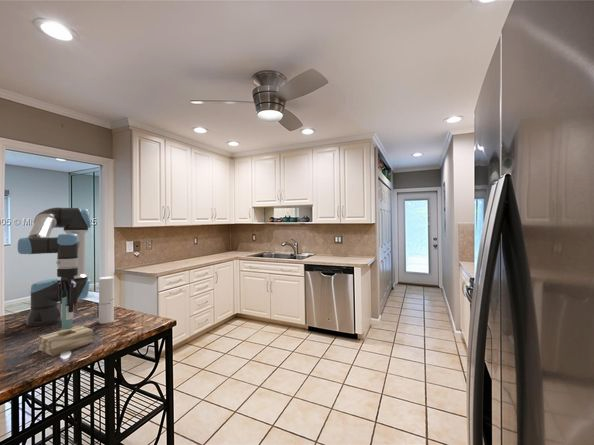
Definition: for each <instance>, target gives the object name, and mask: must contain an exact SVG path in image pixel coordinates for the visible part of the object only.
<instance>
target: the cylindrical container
mask: <svg viewBox="0 0 594 445" xmlns="http://www.w3.org/2000/svg"><path fill="white" fill-rule="evenodd" d="M114 308H115V276H102V277H99V278H98V323H99V324H109V323H112V322H114V321H115V320H114V319H115V316H114V314H115V313H114V312H115V311H114V310H115V309H114Z"/></svg>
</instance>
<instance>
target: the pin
mask: <svg viewBox="0 0 594 445" xmlns="http://www.w3.org/2000/svg"><path fill="white" fill-rule="evenodd" d="M65 305H67V297H63V298H62V319H61V330H65V329H70V328H72V327H74V326H73V325H74V324H73V320H74V318H73V319H69V320H66V306H65Z"/></svg>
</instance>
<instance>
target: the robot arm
mask: <svg viewBox="0 0 594 445" xmlns="http://www.w3.org/2000/svg"><path fill="white" fill-rule="evenodd" d="M91 227H92V224H91V218H90V212H89V210H88V208H83V207H51V208H47V209H45V210H42V211H41V212H39V213H38V214H37V215H35V217H34V219H33V227H32V228H31V230H30V232H29V235H27V237H20V238H19V239H18V240H17V252H18V254H20V255H37V254H38V255H39V254H40V255H42V254H43V255H44V254H57V258H56V261H55V263H56V266H57V269H56V276H57V278H49V279H48V278H47V279H43V280H39V281H36V282H34V283H32V285H31V287H30V292H29V293H30V311H29V313H28V315H27V318H26V320H25V321H26V326H28V327H41V326H48V325H52V324H56V323H59V322H60V321H62V298H63V297H67V305H65V306H66V320H69V319H73V320H74V317H75V316H74V313H75V312H74V311H75V310H74V307H75V306H74V305H75V304H77V303H78V301H79V300H84V299H86V298H88V297H89V290H90V284H91V278H88V274H86V273H85V270H86V269H85V267H86V265H85V264H86V263H85V261H86V260H85V258H86V256H85V250H86V248H85V247H86V241H85V240H86V233H88V231H89V229H90V228H91ZM54 228H56V229H58V228H61V229H62V228H63V232H64V233H60V234H58V235H57V237H56V236H54V237H50V235H51V233H52V230H53V229H54ZM58 278H60V279H58ZM59 303H60V308H59Z"/></svg>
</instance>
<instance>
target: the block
mask: <svg viewBox="0 0 594 445" xmlns="http://www.w3.org/2000/svg"><path fill="white" fill-rule="evenodd" d="M38 340H39V344H38V345H39V347H38V348H39V349H38V350H39V351H40V352H43V353H45V354H47V355H49V356H51V357H55V356H56V355H60V354H63V353H66V352H68V351H72V350H75V349H79V348H80V347H81V348H82V347H84V346H87V345H90V344H93V343H94V329H91V328H89V327H86V326H84V325H80V324H79V325H77V326H76V325H75V326H73V327H72V328H70V329H65V330H63V329H61V330H58V331H54V332H50V333H47V334H44V335H43V334H42V335H40V336H39V339H38Z"/></svg>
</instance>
